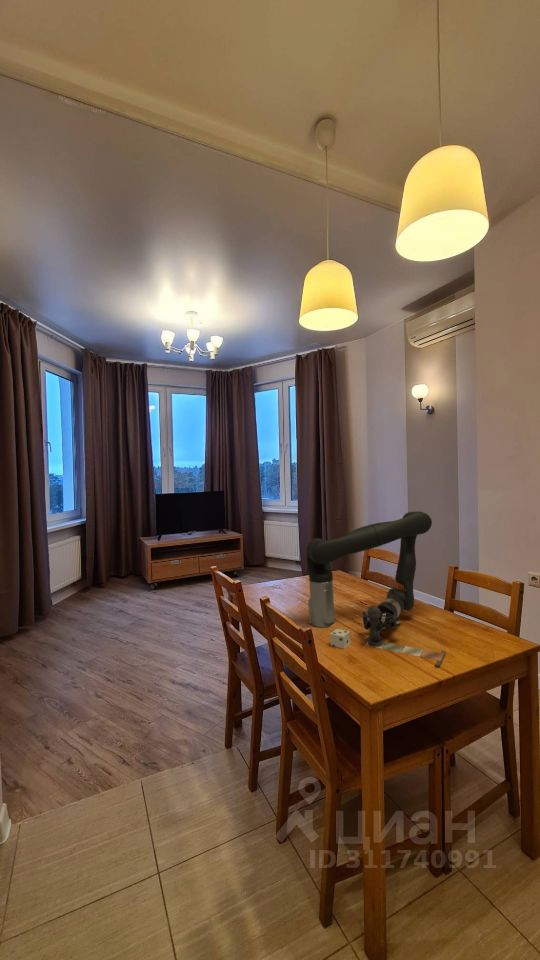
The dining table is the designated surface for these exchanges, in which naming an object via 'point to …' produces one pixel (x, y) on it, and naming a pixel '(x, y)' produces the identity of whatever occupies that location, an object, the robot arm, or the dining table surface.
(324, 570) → the robot arm
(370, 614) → the pawn
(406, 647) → the board
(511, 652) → the dining table surface
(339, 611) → the dining table surface
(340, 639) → the die
